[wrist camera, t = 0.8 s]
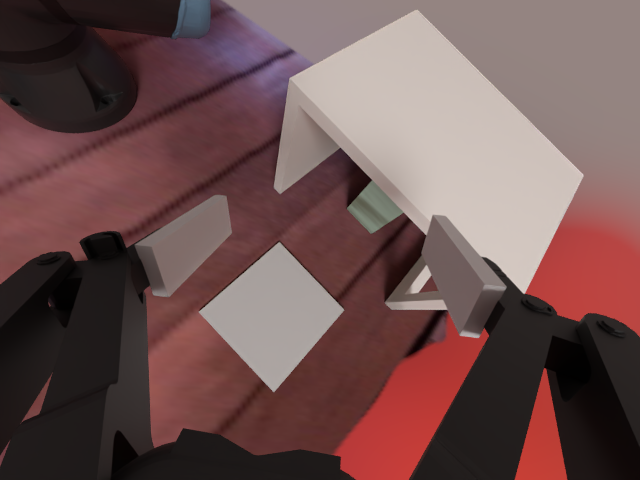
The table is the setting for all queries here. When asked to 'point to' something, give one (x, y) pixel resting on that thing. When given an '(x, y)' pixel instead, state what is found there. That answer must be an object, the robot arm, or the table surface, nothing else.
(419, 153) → the nook cabinet
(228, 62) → the table surface
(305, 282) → the grey mat
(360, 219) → the sage block
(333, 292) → the table surface
